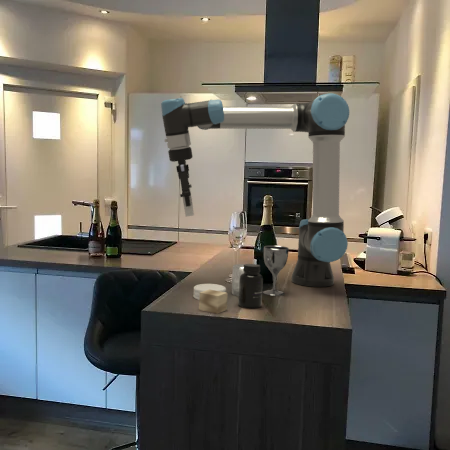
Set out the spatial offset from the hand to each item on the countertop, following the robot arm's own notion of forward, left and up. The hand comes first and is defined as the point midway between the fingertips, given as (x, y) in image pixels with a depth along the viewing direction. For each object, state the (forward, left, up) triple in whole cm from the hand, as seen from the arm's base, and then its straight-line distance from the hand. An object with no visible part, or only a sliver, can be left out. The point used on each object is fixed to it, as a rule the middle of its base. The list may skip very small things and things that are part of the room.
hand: (189, 211), depth 164 cm
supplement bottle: (-22, +21, -25) cm, 40 cm away
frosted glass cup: (-19, +7, -25) cm, 33 cm away
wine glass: (-29, +3, -25) cm, 39 cm away
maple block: (-12, +28, -25) cm, 40 cm away
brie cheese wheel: (-10, +15, -25) cm, 31 cm away
